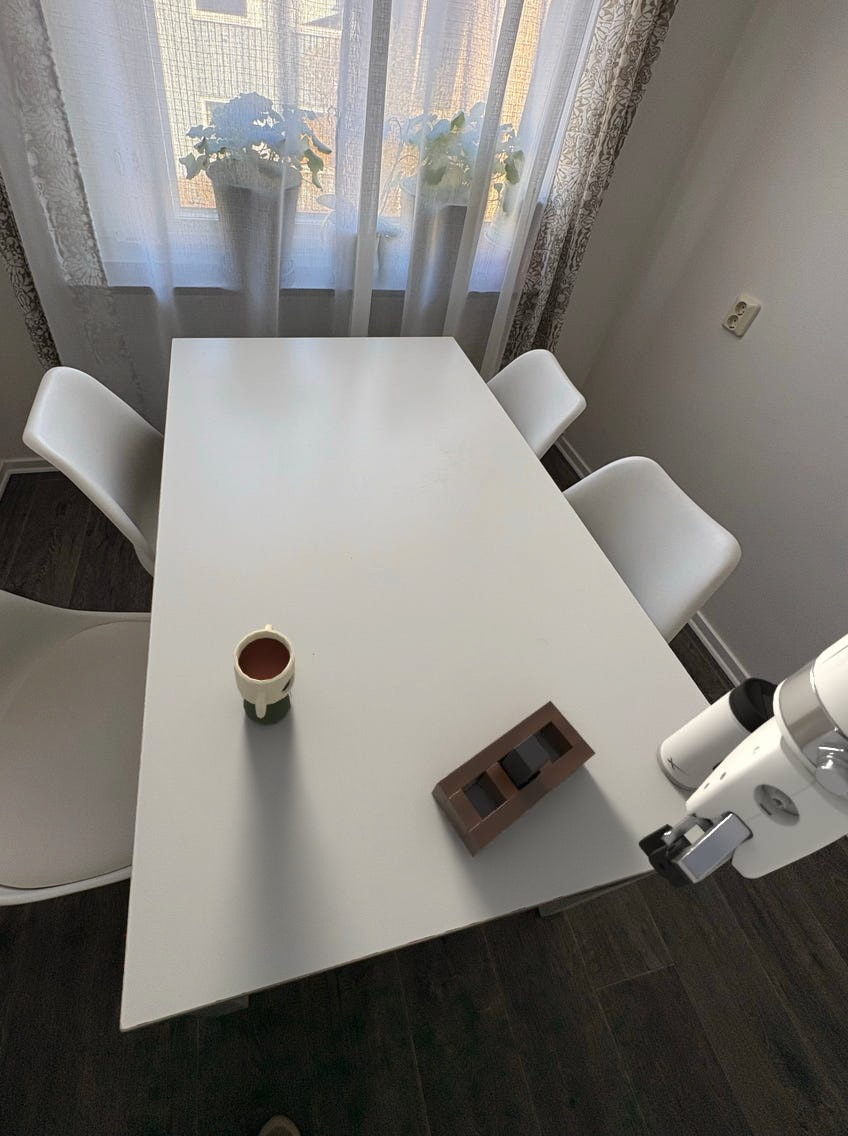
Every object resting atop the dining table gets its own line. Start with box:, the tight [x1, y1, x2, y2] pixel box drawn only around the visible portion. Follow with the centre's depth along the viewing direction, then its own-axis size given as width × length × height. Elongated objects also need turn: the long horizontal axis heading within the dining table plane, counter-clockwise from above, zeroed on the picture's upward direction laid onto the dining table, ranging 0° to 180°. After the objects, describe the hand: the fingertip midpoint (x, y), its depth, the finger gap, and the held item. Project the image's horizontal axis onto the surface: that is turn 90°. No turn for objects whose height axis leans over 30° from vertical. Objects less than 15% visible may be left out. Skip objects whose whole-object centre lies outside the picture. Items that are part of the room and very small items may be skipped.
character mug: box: [232, 623, 296, 725], centre depth 66 cm, size 11×7×13 cm, turn 2°
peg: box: [499, 735, 551, 790], centre depth 64 cm, size 3×3×9 cm
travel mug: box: [656, 677, 779, 791], centre depth 63 cm, size 6×7×20 cm
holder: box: [431, 700, 596, 857], centre depth 66 cm, size 8×19×4 cm, turn 123°
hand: (696, 822), depth 40 cm, fingers open, 9 cm apart
